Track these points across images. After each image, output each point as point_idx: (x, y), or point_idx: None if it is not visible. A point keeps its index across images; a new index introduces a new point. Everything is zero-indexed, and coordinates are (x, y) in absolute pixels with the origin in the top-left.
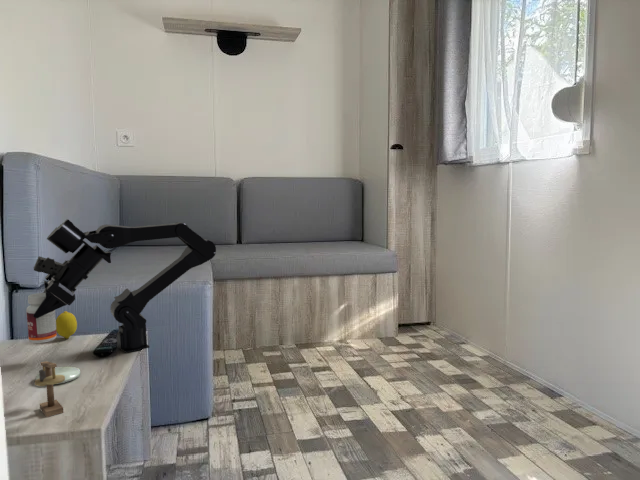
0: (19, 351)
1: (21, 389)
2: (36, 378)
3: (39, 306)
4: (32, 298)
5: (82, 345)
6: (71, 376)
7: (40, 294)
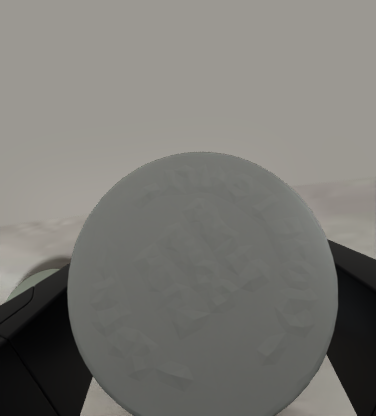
0: (335, 212)
1: (38, 243)
2: (46, 270)
3: (57, 272)
4: (103, 201)
5: (348, 409)
6: None
7: (228, 272)
